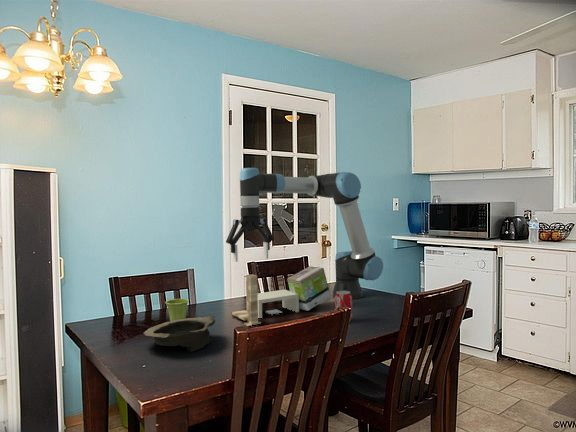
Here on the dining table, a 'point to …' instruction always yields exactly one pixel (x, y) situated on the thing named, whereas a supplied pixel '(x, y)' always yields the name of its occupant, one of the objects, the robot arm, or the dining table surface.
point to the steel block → (273, 312)
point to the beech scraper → (249, 303)
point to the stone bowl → (183, 332)
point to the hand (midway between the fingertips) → (250, 259)
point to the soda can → (343, 300)
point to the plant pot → (177, 309)
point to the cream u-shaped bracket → (286, 296)
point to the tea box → (309, 287)
